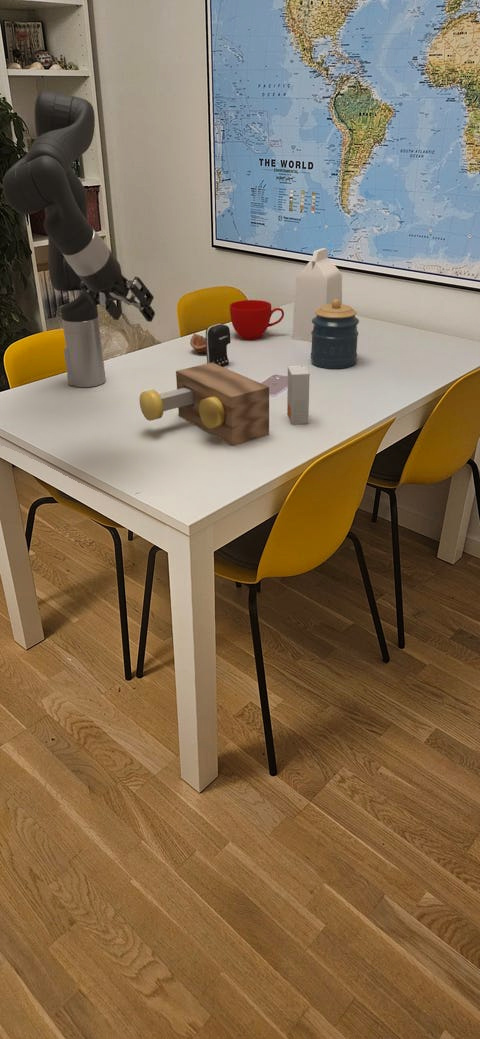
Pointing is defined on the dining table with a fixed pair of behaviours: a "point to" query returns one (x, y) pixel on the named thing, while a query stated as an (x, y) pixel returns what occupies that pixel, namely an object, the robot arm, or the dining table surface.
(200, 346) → the broken brown shell
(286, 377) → the mobile phone
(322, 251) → the milk
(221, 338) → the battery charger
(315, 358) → the canister
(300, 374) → the skincare box
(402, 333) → the dining table surface
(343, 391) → the dining table surface
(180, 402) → the knob
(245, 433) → the block
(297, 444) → the dining table surface
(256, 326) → the ceramic cup
